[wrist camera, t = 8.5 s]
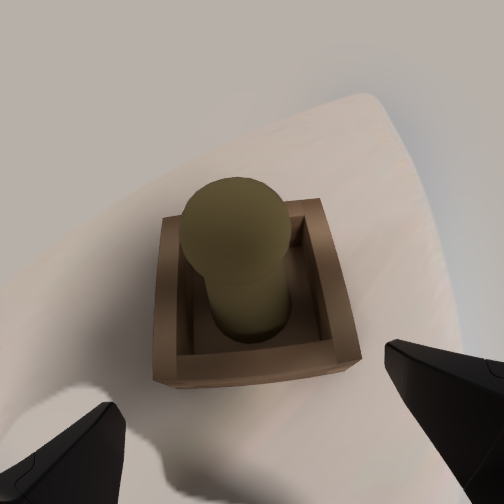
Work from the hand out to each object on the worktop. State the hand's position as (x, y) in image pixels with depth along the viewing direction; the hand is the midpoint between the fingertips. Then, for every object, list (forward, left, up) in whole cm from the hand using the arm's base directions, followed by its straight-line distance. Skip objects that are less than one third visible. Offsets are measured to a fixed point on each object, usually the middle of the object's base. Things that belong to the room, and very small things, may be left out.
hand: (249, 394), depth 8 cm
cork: (+7, 0, -11) cm, 13 cm away
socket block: (+7, 0, -11) cm, 14 cm away
